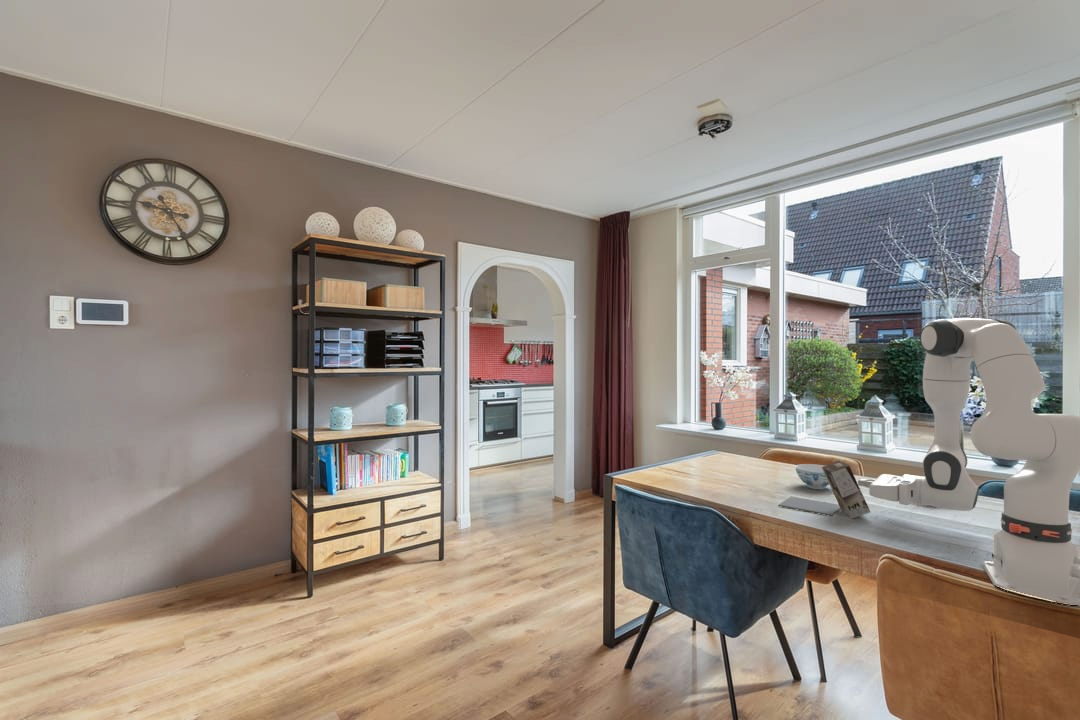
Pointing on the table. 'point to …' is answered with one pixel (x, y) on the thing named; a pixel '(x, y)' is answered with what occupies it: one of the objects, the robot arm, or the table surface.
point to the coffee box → (846, 489)
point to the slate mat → (811, 505)
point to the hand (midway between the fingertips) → (859, 481)
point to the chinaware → (812, 475)
